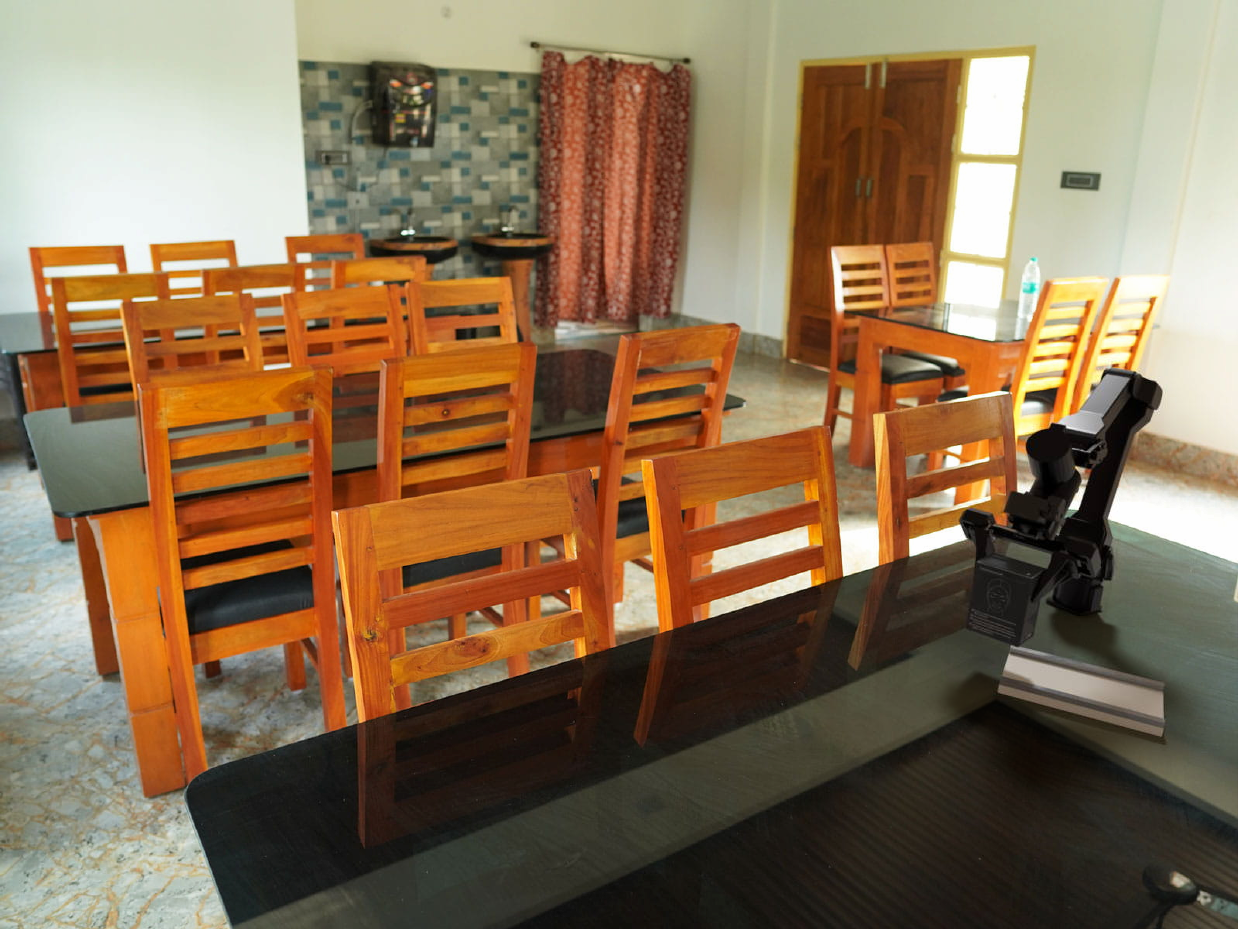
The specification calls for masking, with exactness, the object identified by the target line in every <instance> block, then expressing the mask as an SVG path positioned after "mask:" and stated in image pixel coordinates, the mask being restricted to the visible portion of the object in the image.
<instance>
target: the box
mask: <svg viewBox="0 0 1238 929" xmlns="http://www.w3.org/2000/svg"><path fill="white" fill-rule="evenodd" d="M974 568H975V567H974ZM1046 569H1047V568H1046V567H1043V566H1040V565H1036V564H1034V563H1033V564H1032V563H1030V562H1027V561H1023V560H1019V559H1015V558H1012V557H1009V556H1007V555H1003V554H998V553H996V552H995V553H992V554H990V555H988V556H986V557H984V558H982V559H980V560H978V561H977V563H976V568H975V574H974V573H973V577H974V580H973V579H972V580H973V581H972V586H971V590H970V591H971V592H970V593H971V594H970V598H969V603H968V609H967V616H966V621H965V626H964V627H965V630H968V631H970V632H973V633H976V634H978V635H981V636H985V637H987V638H989V639H990V638H991V639H993V640H996V641H997V642H998V641H999V642H1002V643H1004V644H1007V645H1009V646H1011V645H1012V646H1015V647H1017V648H1019V647H1022V646H1023V645H1025V643H1027V642H1028V641H1029V640H1031V639H1032V638H1033V637H1034V635H1035V630H1036V625H1037V620H1038V616H1039V611H1040V606H1041V605H1040V604H1041V600H1042V598H1041V599H1040V600H1039V601H1037V602H1036V603H1032V602H1031V597H1032V595H1033V592H1034V590H1035V588H1036V586H1037V585H1038V583H1039V581H1040V579H1041V578H1042V576H1043V574H1044V573H1045V571H1046Z"/></svg>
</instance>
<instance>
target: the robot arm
mask: <svg viewBox="0 0 1238 929" xmlns="http://www.w3.org/2000/svg"><path fill="white" fill-rule="evenodd" d="M1088 396H1089V397H1087V399H1086V400H1085V401H1084V403H1083V404H1082V406H1081V407H1080V408H1079V409H1078V411H1077V412H1076V413H1073V414H1069V415H1065V416H1062V417H1061V418H1060V419H1059V420H1058V421H1057V422H1051V423H1050V424H1049V426H1048V428H1044V429H1040V430H1037V431H1036V432H1034V433H1032V434H1031V435H1030V436H1028V438H1027V439H1026V443H1025V451H1026V452H1025V453H1026V456H1027V459H1028V463H1029V467H1030V471H1031V474H1032V476H1033V477H1034V478H1035V479H1034V481H1033V484H1032V485H1031V487H1030V489H1029V491H1028V490H1026V491H1024V492H1019V491H1015V490H1010V491H1009V495H1008V498H1007V500H1006V504H1005V506H1004V509H1003V513H1005V514H1008V517H1007V521H1008V523H1009V524H1011V527H1010V526H1005V525H1002V524H999V523H998V524H997V521H996V519H995V515H994V513H992V512H989V511H985V510H982V509H977V508H974V507H969V508H966V509H965V510H964V511H962V513H961V515H960V517H959V518H958V523H959V524H960V527H961V530H962V532H963V535H964V537H965V538H966V539H967V540H969V541H970V542H972V543H973V545H974V546H975V559H974V570H973V575H974V574H975V568H976V563H977V561H978V560H980V559H982V558H984V557H986V556H988V555H990V554H992V553H996V547H995V545H994V543H995V541H996V540H997V539H999V540H1002V541H1006V542H1010V543H1012V544H1016V545H1019V546H1023V547H1026V548H1029V549H1032V550H1036V551H1039V552H1042V553H1046V554H1049V555H1051V556H1050V560H1049V564H1048V566H1047V568H1046V571H1045V573H1044V574H1043V576H1042V578H1041V579H1040V581H1039V583H1038V585H1037V586H1036V588H1035V590H1034V592H1033V595H1032V597H1031V602H1032V603H1036V602H1037V601H1039V600H1040V599H1041V600H1042V598H1044V597H1045V596H1046V595H1048V594H1049V593H1050V592H1052V596H1049V597H1046V598H1045V602H1047V603H1049V604H1051V605H1054V606H1056V607H1058V608H1060V609H1063V610H1065V611H1067V612H1069V613H1072V614H1074V615H1076V616H1083V615H1087V614H1091V613H1094V612H1097V611H1101V610H1102V609H1103V606H1102V605H1101V603H1102V597H1103V592H1104V587H1105V586H1104V585H1103V583H1104V582H1106V581H1107V582H1108V581H1113V577H1114V572H1115V565H1116V562H1115V556H1114V555H1115V553H1114V549H1113V548H1114V547H1113V546H1112V544H1113V539H1114V535H1113V533H1112V530H1111V526H1110V523H1109V516H1110V512H1111V510H1112V508H1113V507H1112V506H1113V503H1114V500H1115V497H1116V494H1117V491H1118V488H1119V484H1120V481H1121V478H1122V477H1123V476H1122V474H1123V473H1124V469H1125V466H1126V462H1127V460H1128V457H1129V453H1130V450H1131V448H1132V443H1133V442H1134V438H1135V435H1136V434H1137V433H1138V432H1139V431H1141V430H1142V429H1143V428H1144V427H1145V426H1147V425H1148V424H1149V423H1150V422H1151V420H1152V418H1153V415H1154V413H1155V411H1157V410H1158V409H1159V408H1160V405H1161V402H1162V398H1163V388H1162V387H1161V385H1160V384H1159V383H1158V382H1157V381H1156V380H1153V379H1149V378H1146V377H1144V376H1142V374H1141V373H1138V372H1137V371H1136V370H1129V369H1123V368H1118V367H1113V366H1112V367H1109V368H1107V367H1106V368H1105V369H1104V370H1103V371H1102V374H1101V377H1100V381H1099V382H1098V384H1097V385H1096V387H1095V388H1094V389H1093V390H1092V392H1091V394H1090V395H1088ZM1076 467H1077V468H1081V469H1086V470H1090V472H1089V477H1088V479H1087V482H1086V486H1085V489H1084V492H1083V495H1082V497H1081V501H1080V504H1079V508H1078V509H1077V511H1075V512H1074V513H1073V514H1072V515H1070V516H1066V515H1067V513H1068V511H1069V509H1070V507H1071V504H1072V503H1073V500H1074V498H1075V497H1076V494H1078V493H1079V491H1080V486H1081V485H1082V482H1083V479H1082V475H1081V473H1080V472H1079V470H1078V469H1077V468H1076ZM1059 529H1060V530H1059ZM972 580H974V576H973V577H972ZM1041 600H1040V601H1041Z"/></svg>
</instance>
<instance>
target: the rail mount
mask: <svg viewBox="0 0 1238 929" xmlns="http://www.w3.org/2000/svg"><path fill="white" fill-rule="evenodd" d="M1164 689H1165V682H1162V681H1159V680H1155V679H1150V678H1147V677H1142V676H1139V675H1134V674H1131V673H1127V672H1122V671H1118V670H1114V669H1110V668H1107V667H1102V666H1098V665H1095V664H1091V663H1087V662H1083V661H1078V660H1074V659H1070V658H1066V657H1063V656H1059V655H1054V654H1050V653H1047V652H1042V651H1039V650H1035V649H1030V648H1028V647H1023V646H1020V647H1019V648H1017V647H1015V646H1012V645H1010V648H1009V653H1008V656H1007V659H1006V662H1005V665H1004V668H1003V672H1002V675H1000V678H999V683H998V688H997V693H999V694H1001V695H1007V696H1010V697H1013V698H1016V699H1021V700H1023V701H1028V702H1031V703H1035V704H1039V705H1042V706H1046V707H1049V708H1054V709H1057V710H1061V711H1065V712H1068V713H1071V714H1076V715H1080V716H1082V717H1086V718H1091V719H1094V720H1097V721H1101V722H1105V723H1108V724H1112V725H1116V726H1120V727H1124V728H1127V729H1132V730H1134V731H1138V732H1141V733H1146V734H1150V735H1153V736H1157V737H1161V738H1162V737H1163V735H1164V734H1163V733H1164V730H1165V724H1166V718H1164Z"/></svg>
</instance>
